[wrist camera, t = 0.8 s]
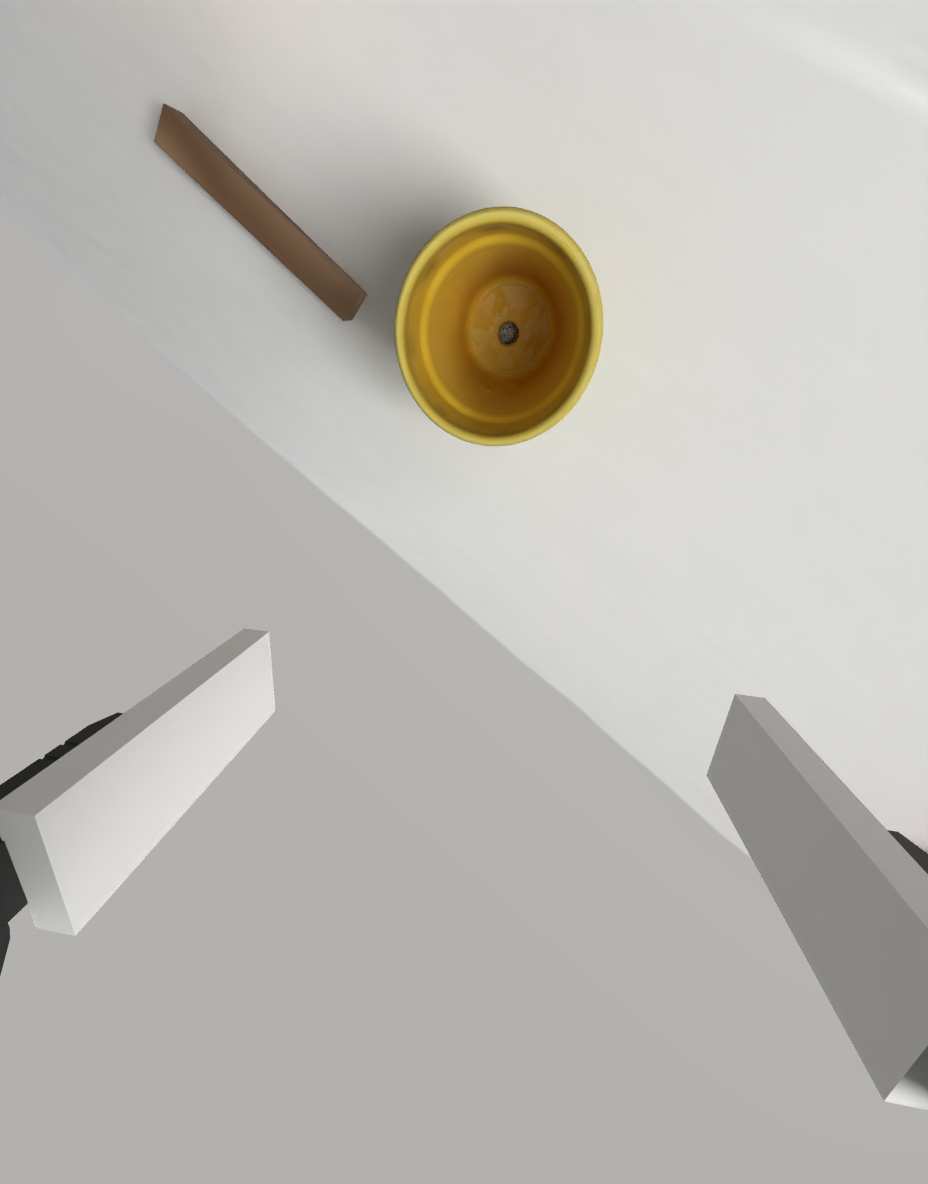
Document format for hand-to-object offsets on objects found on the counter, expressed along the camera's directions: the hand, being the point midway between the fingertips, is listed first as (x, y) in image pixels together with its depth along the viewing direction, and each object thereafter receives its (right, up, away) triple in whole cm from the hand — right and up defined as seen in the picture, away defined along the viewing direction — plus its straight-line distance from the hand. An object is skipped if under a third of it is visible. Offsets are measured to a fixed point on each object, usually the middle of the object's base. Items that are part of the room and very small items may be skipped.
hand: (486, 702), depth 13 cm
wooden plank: (-13, +27, +16) cm, 34 cm away
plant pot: (+3, +21, +17) cm, 27 cm away
